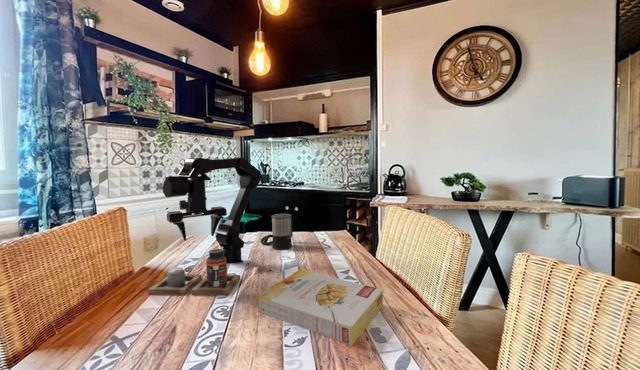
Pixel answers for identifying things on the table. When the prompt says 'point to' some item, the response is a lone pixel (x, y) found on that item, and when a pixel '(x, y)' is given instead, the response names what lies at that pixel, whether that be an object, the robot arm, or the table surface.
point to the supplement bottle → (216, 269)
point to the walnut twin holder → (198, 289)
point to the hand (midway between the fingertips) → (199, 238)
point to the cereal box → (322, 304)
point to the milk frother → (280, 232)
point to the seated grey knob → (176, 277)
